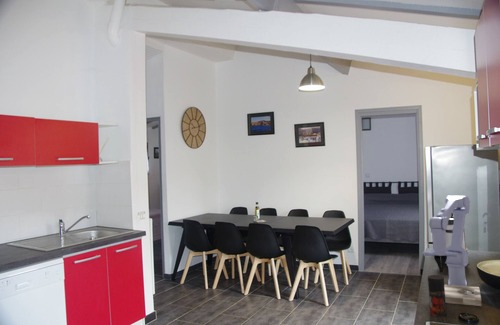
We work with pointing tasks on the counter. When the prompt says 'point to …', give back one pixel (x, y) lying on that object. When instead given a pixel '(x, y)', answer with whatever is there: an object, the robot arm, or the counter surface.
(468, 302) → the block
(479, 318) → the counter surface
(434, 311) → the spice jar
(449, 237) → the coffee press
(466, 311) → the counter surface
